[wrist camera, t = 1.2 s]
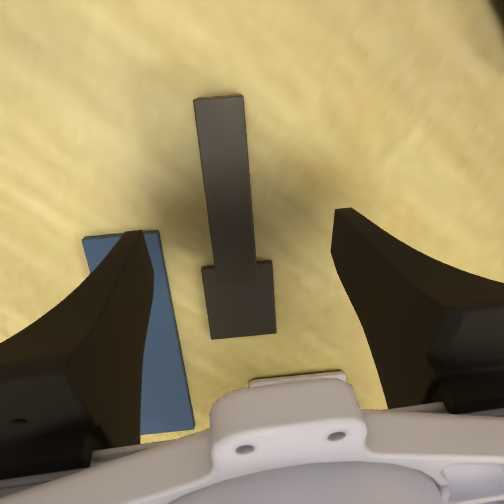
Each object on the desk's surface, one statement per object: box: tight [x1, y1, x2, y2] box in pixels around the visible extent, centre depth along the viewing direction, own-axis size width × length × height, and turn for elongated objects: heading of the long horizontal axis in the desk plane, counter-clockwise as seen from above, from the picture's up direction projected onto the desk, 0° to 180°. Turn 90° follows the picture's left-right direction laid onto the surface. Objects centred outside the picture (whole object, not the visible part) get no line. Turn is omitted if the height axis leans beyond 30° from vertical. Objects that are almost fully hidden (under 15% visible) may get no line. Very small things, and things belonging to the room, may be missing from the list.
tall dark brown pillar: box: [193, 94, 276, 340], centre depth 24 cm, size 17×5×3 cm, turn 4°
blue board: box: [82, 231, 195, 435], centre depth 29 cm, size 18×5×1 cm, turn 4°
